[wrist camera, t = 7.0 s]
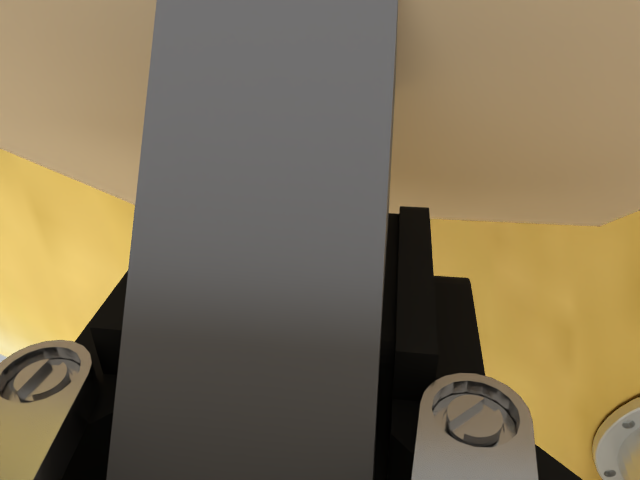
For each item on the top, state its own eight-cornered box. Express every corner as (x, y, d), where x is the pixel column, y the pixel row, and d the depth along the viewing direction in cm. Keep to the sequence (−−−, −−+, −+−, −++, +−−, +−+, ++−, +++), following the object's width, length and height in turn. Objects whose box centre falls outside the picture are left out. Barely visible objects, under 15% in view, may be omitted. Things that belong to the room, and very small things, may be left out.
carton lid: (599, 212, 23) (597, 427, 22) (136, 192, 26) (117, 385, 25) (1273, -103, 6) (1405, 875, 5) (-413, -68, 8) (-561, 571, 7)
